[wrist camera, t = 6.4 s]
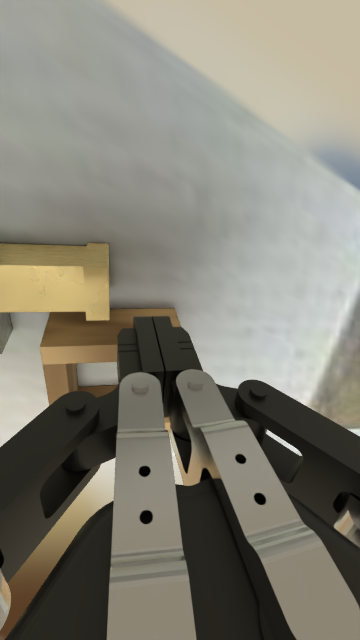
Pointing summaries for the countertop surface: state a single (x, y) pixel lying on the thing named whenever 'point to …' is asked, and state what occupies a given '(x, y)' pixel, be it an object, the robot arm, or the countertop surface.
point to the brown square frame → (85, 347)
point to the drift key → (55, 279)
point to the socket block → (4, 329)
